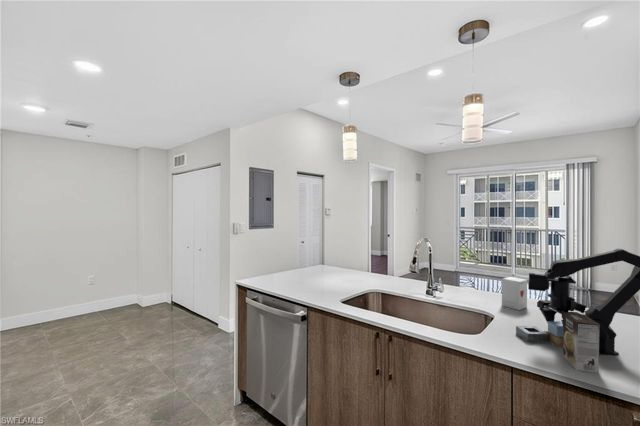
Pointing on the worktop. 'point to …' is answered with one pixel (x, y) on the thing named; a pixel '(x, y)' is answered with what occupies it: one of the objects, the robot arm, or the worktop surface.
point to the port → (532, 334)
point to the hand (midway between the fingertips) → (559, 332)
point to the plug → (556, 328)
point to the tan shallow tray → (555, 340)
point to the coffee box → (581, 342)
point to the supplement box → (514, 293)
